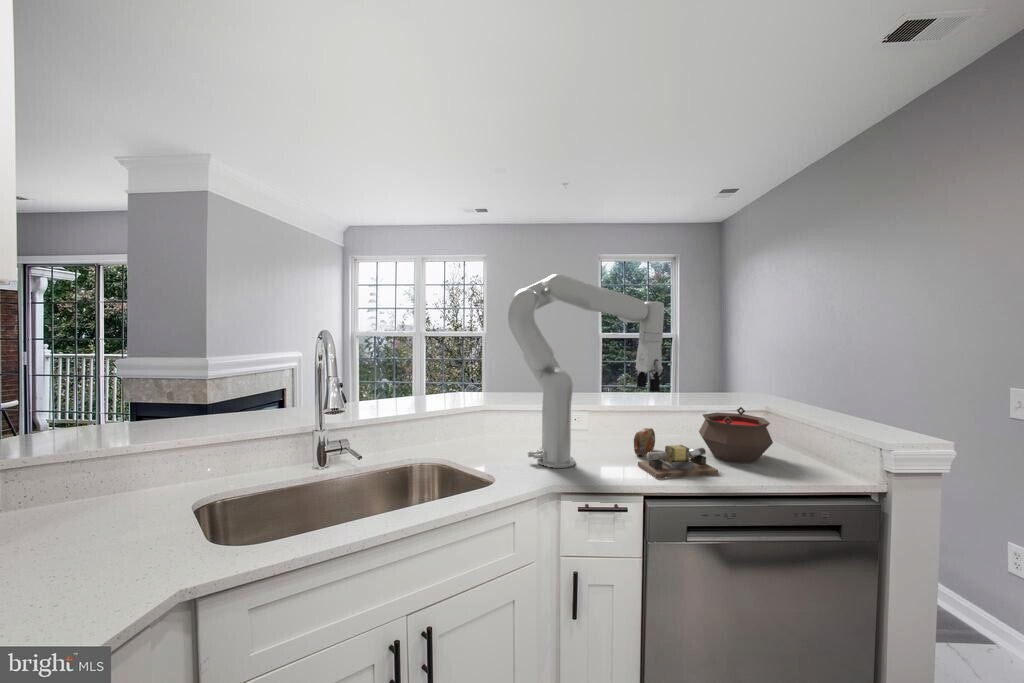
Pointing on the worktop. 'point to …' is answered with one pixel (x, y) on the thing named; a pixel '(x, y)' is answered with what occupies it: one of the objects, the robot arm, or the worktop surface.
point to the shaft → (698, 456)
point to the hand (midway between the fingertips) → (647, 389)
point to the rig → (673, 467)
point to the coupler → (677, 453)
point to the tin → (644, 441)
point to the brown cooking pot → (736, 436)
